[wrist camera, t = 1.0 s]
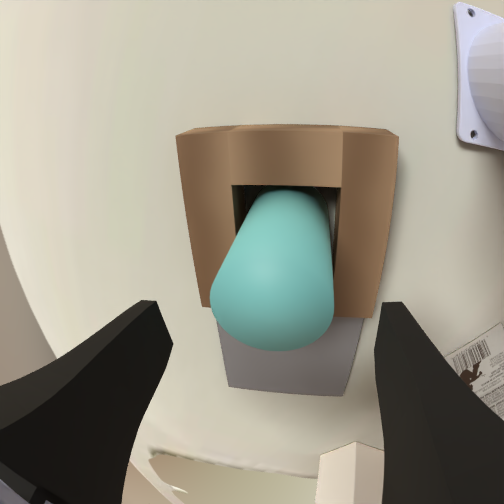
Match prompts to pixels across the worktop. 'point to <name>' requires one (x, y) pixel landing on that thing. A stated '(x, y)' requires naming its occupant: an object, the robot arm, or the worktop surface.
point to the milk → (351, 475)
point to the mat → (295, 362)
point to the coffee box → (483, 367)
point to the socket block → (296, 174)
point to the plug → (278, 272)
